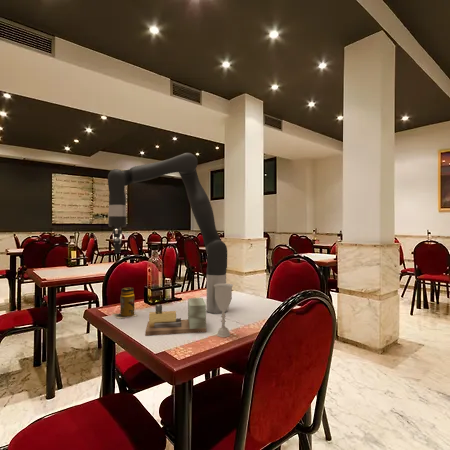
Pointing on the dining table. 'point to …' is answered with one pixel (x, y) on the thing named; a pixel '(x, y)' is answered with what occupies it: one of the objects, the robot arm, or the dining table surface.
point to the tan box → (161, 316)
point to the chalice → (223, 304)
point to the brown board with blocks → (183, 321)
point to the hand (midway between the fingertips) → (117, 252)
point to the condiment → (126, 303)
